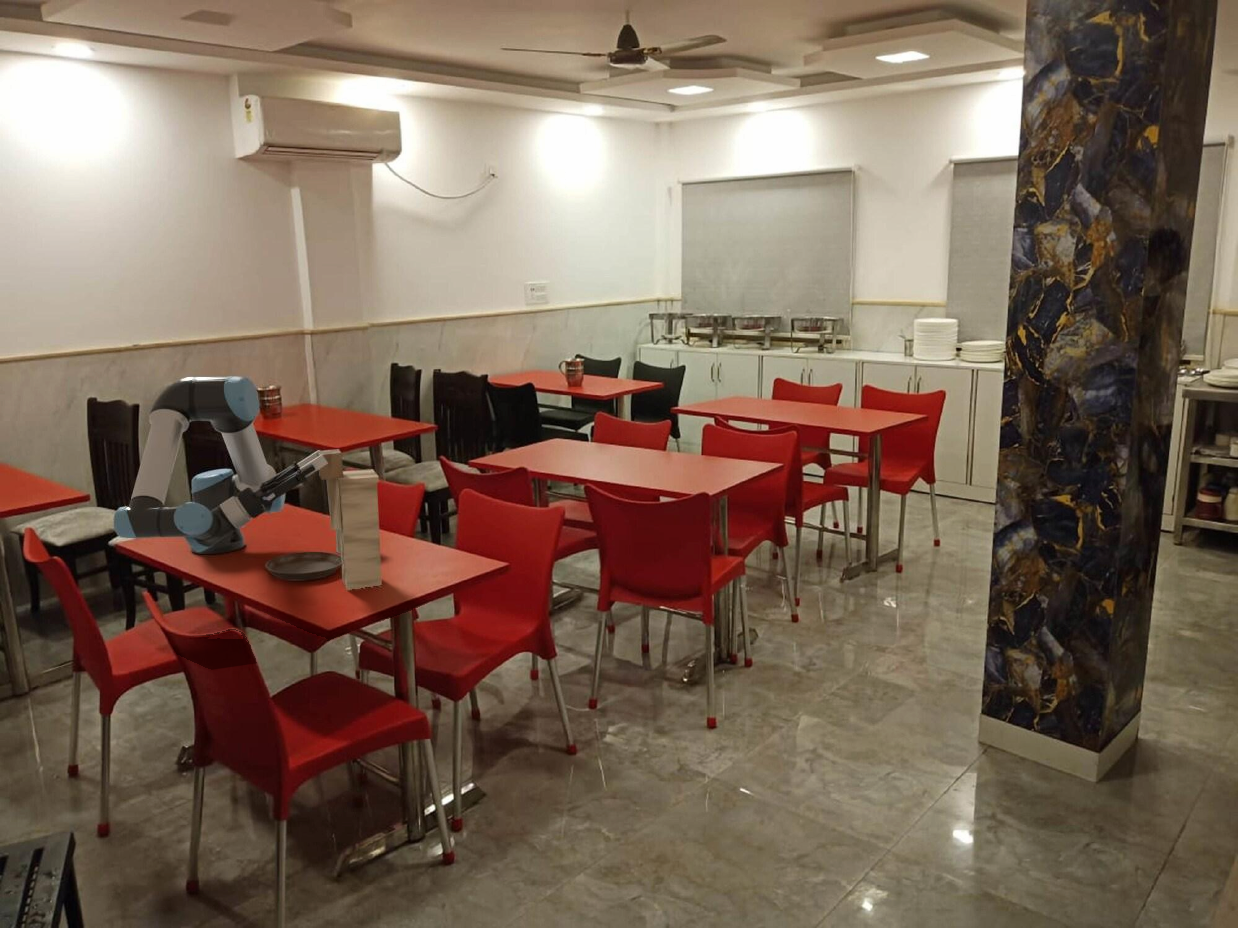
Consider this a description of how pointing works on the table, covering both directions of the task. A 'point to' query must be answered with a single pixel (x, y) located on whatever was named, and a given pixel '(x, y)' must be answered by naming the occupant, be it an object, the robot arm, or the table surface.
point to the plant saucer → (304, 565)
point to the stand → (359, 529)
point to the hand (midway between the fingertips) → (323, 456)
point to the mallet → (332, 483)
